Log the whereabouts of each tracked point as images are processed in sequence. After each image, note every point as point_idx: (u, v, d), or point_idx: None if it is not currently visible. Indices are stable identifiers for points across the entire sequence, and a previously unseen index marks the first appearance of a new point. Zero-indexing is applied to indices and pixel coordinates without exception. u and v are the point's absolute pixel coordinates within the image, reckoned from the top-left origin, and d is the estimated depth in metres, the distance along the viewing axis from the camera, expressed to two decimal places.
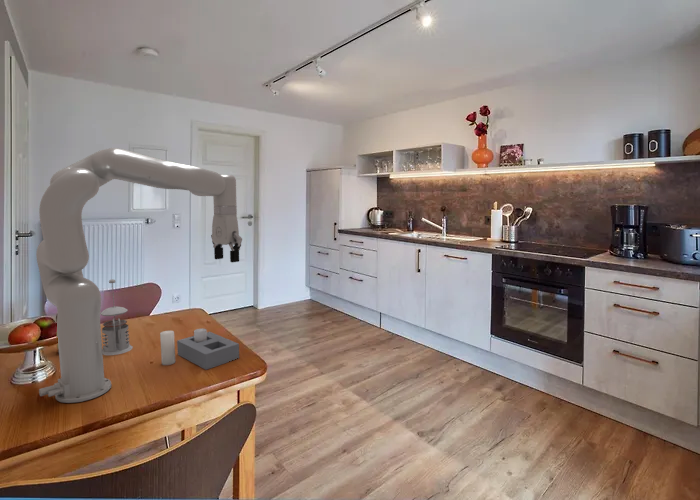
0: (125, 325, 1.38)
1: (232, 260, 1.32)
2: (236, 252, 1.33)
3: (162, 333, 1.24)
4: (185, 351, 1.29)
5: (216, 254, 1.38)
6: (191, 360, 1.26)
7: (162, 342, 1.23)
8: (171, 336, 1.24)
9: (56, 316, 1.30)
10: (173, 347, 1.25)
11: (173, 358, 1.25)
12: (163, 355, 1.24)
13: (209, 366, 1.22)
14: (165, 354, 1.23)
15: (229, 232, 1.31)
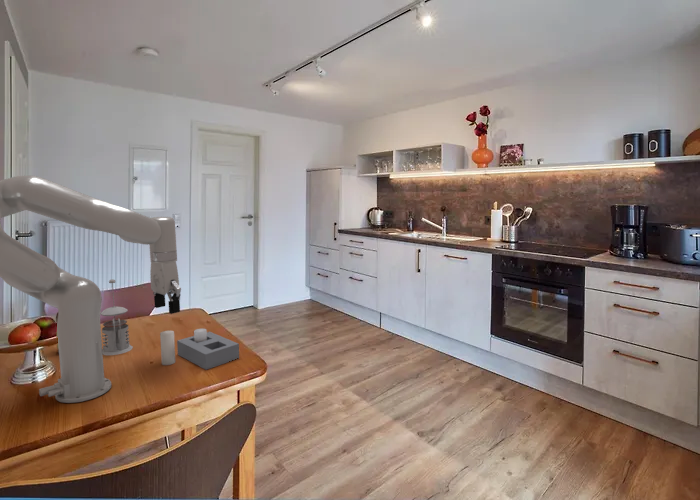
0: (125, 325, 1.38)
1: (171, 311, 1.20)
2: (175, 302, 1.20)
3: (162, 333, 1.24)
4: (185, 351, 1.29)
5: (156, 302, 1.26)
6: (191, 360, 1.26)
7: (162, 342, 1.23)
8: (171, 336, 1.24)
9: (56, 316, 1.30)
10: (173, 347, 1.25)
11: (173, 358, 1.25)
12: (163, 355, 1.24)
13: (209, 366, 1.22)
14: (165, 354, 1.23)
15: (166, 281, 1.18)
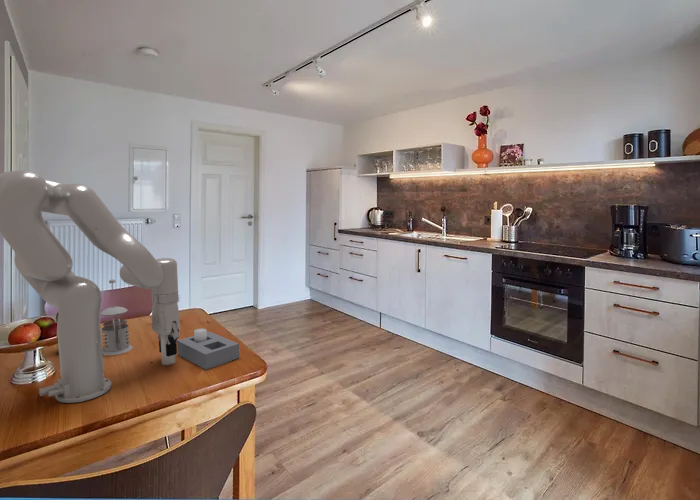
0: (125, 325, 1.38)
1: (168, 354, 1.23)
2: (173, 345, 1.23)
3: None
4: (185, 351, 1.29)
5: None
6: (191, 360, 1.26)
7: (162, 342, 1.23)
8: (171, 336, 1.24)
9: (56, 316, 1.30)
10: None
11: (173, 358, 1.25)
12: (163, 355, 1.24)
13: (209, 366, 1.22)
14: (165, 354, 1.24)
15: (168, 323, 1.20)
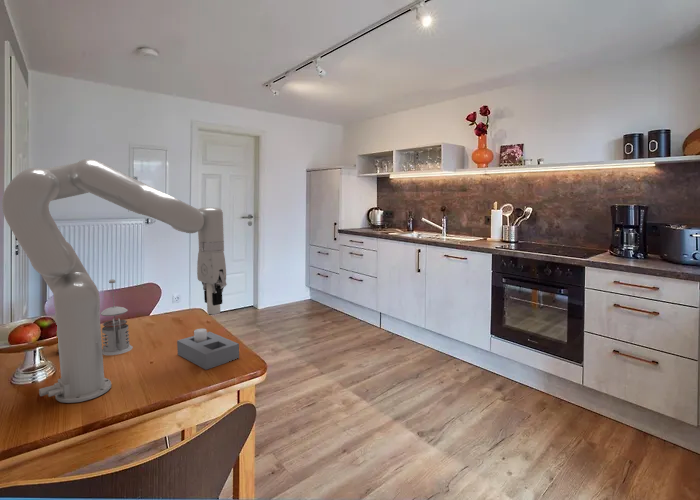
0: (125, 325, 1.38)
1: (214, 303, 1.23)
2: (219, 294, 1.23)
3: None
4: (185, 351, 1.29)
5: (206, 297, 1.26)
6: (191, 360, 1.26)
7: (208, 291, 1.23)
8: (217, 285, 1.24)
9: None
10: None
11: (219, 308, 1.25)
12: (209, 304, 1.24)
13: (209, 366, 1.22)
14: (212, 304, 1.24)
15: (215, 271, 1.20)
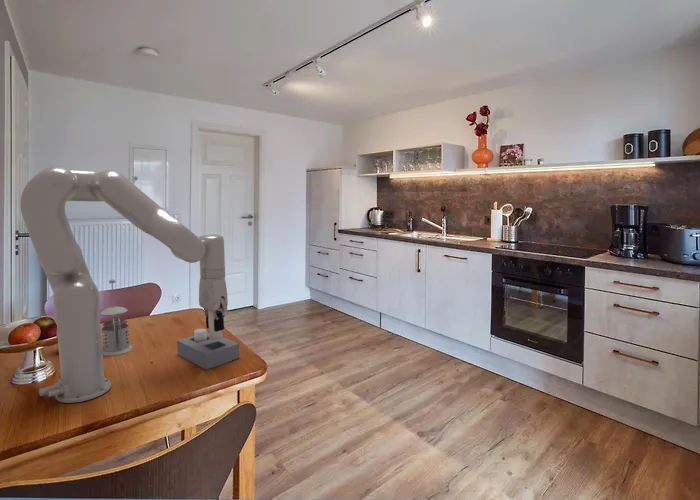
0: (125, 325, 1.38)
1: (216, 329, 1.24)
2: (220, 320, 1.25)
3: None
4: (185, 351, 1.29)
5: (208, 323, 1.27)
6: (191, 360, 1.26)
7: (210, 317, 1.25)
8: (218, 312, 1.25)
9: None
10: None
11: (220, 333, 1.27)
12: (211, 330, 1.25)
13: (209, 366, 1.22)
14: (213, 330, 1.25)
15: (217, 298, 1.21)
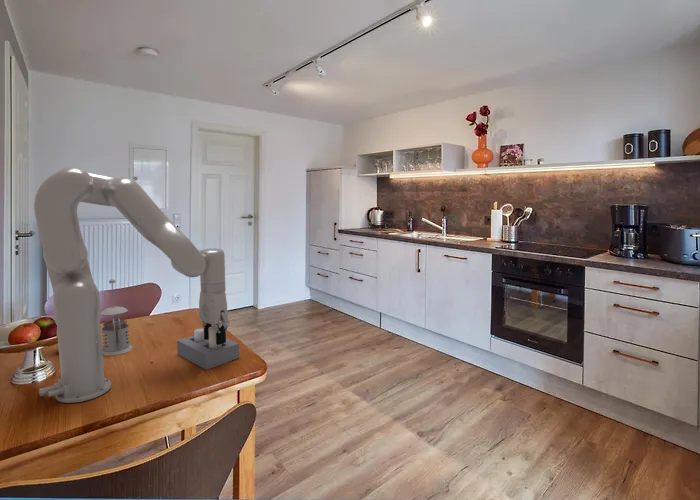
0: (125, 325, 1.38)
1: (218, 342, 1.24)
2: (222, 334, 1.24)
3: (210, 328, 1.26)
4: (185, 351, 1.29)
5: (206, 334, 1.28)
6: (191, 360, 1.26)
7: (210, 337, 1.25)
8: None
9: None
10: None
11: None
12: (211, 349, 1.26)
13: (209, 366, 1.22)
14: (213, 349, 1.26)
15: (217, 312, 1.22)
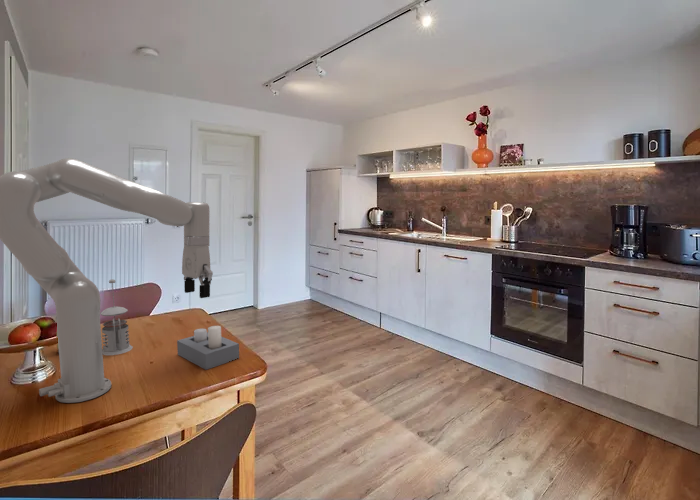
0: (125, 325, 1.38)
1: (201, 296, 1.21)
2: (206, 287, 1.21)
3: (210, 328, 1.26)
4: (185, 351, 1.29)
5: (186, 287, 1.27)
6: (191, 360, 1.26)
7: (210, 337, 1.25)
8: (218, 331, 1.26)
9: None
10: (220, 342, 1.27)
11: None
12: None
13: (209, 366, 1.22)
14: (213, 349, 1.26)
15: (199, 265, 1.19)
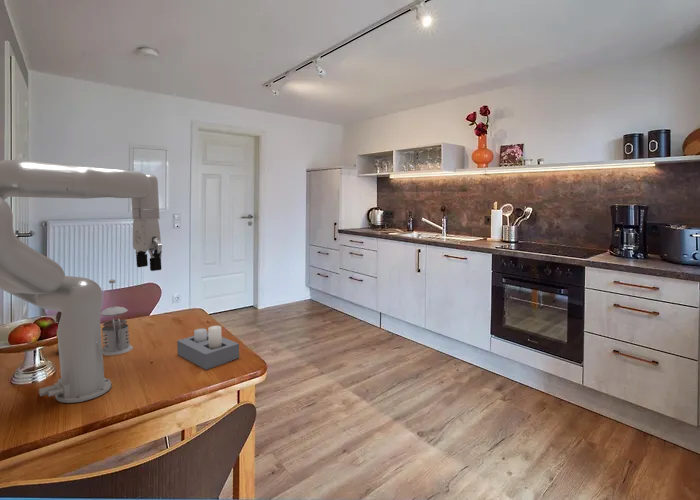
0: (125, 325, 1.38)
1: (152, 268, 1.20)
2: (157, 260, 1.20)
3: (210, 328, 1.26)
4: (185, 351, 1.29)
5: (138, 261, 1.26)
6: (191, 360, 1.26)
7: (210, 337, 1.25)
8: (218, 331, 1.26)
9: (56, 316, 1.30)
10: (220, 342, 1.27)
11: None
12: None
13: (209, 366, 1.22)
14: (213, 349, 1.26)
15: (148, 238, 1.18)
